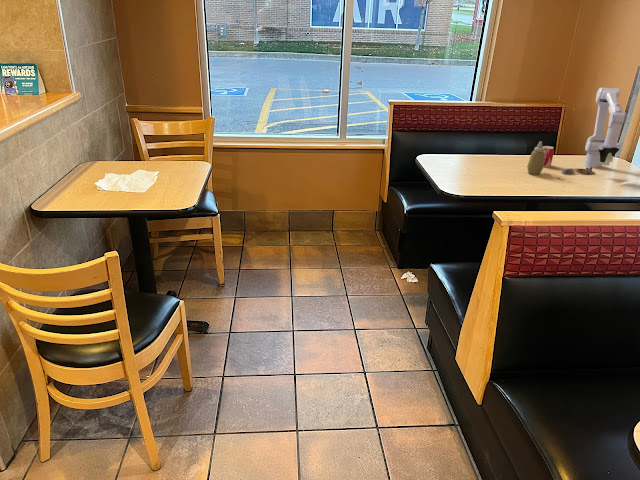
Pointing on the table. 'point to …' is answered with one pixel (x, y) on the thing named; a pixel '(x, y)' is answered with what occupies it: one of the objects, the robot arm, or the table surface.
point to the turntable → (578, 171)
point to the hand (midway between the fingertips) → (605, 161)
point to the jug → (608, 159)
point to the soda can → (548, 155)
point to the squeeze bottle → (536, 160)
